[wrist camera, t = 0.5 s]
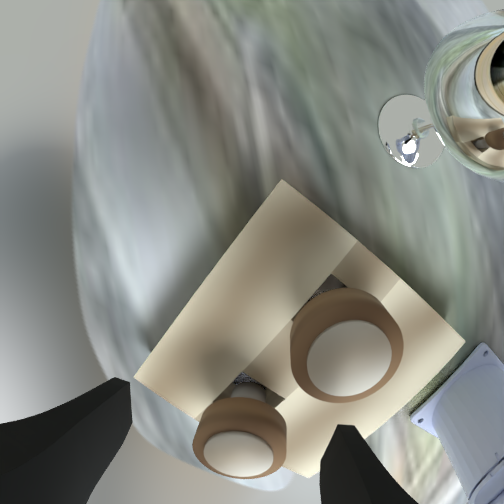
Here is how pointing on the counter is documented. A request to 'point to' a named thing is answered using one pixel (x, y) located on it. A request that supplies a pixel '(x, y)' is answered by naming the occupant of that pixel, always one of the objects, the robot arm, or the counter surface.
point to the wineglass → (455, 103)
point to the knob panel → (279, 326)
